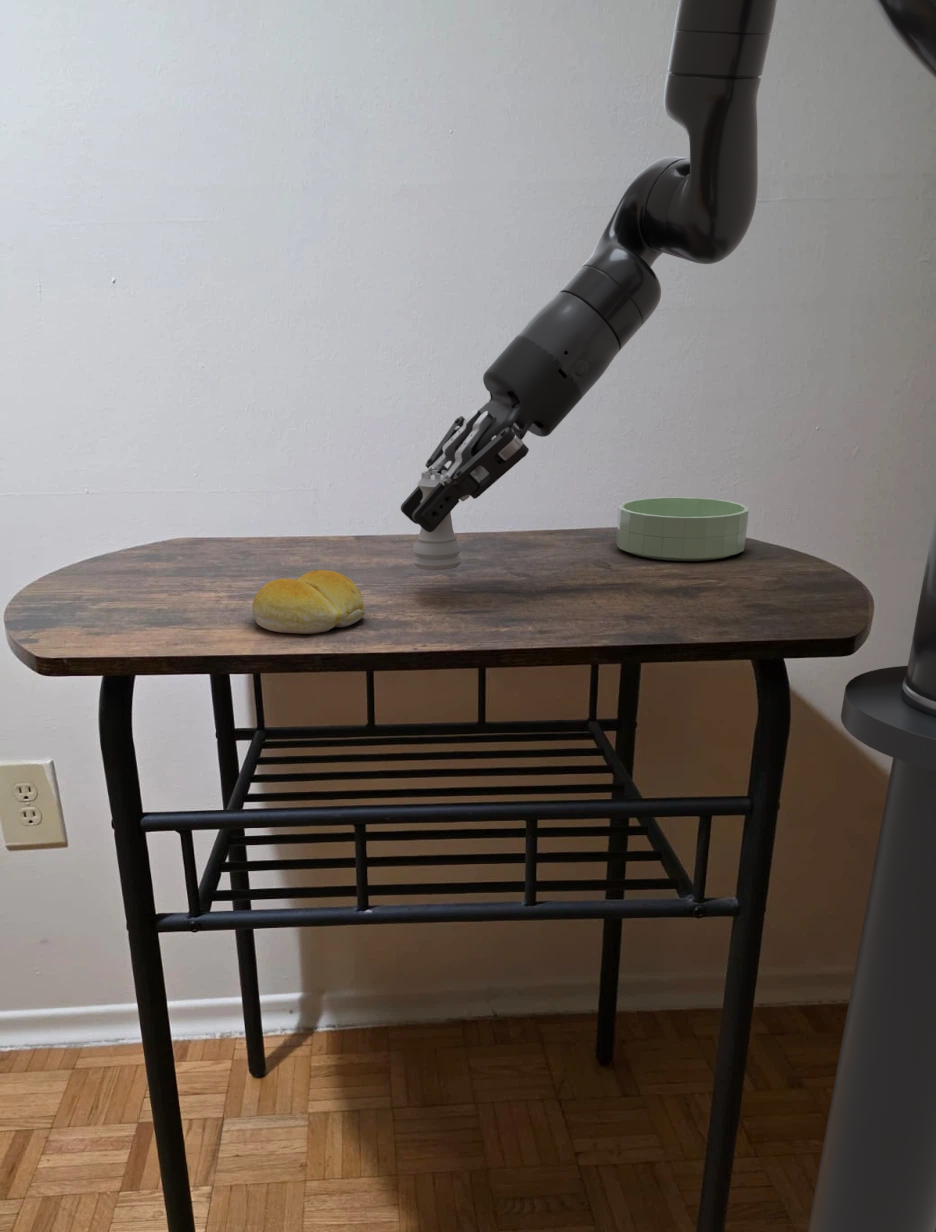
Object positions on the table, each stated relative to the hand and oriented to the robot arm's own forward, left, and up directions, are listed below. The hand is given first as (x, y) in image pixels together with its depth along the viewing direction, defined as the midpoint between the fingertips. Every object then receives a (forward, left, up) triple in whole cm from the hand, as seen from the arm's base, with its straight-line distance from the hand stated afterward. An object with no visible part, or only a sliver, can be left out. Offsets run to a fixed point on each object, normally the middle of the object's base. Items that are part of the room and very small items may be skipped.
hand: (414, 520), depth 83 cm
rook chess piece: (0, -2, -4) cm, 5 cm away
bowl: (+11, -32, -7) cm, 34 cm away
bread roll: (-4, +10, -7) cm, 13 cm away
